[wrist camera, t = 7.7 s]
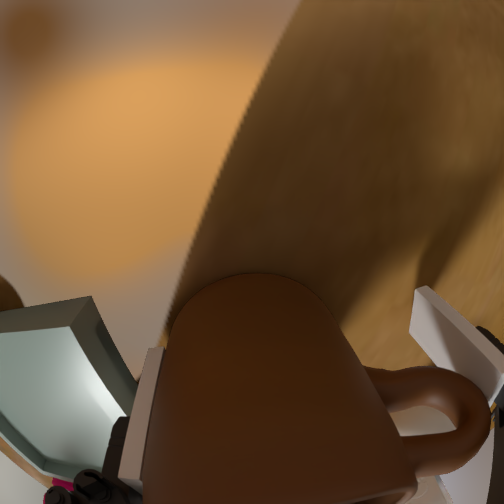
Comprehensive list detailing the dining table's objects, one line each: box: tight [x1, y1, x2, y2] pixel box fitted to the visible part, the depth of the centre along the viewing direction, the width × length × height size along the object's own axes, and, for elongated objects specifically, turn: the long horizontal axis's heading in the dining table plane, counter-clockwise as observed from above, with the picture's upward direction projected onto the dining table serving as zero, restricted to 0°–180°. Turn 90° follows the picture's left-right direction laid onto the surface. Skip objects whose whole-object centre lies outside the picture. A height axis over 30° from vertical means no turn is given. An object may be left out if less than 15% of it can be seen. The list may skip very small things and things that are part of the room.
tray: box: [0, 296, 138, 483], centre depth 13 cm, size 18×18×2 cm
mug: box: [142, 273, 491, 504], centre depth 9 cm, size 12×8×9 cm, turn 95°
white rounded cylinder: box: [389, 406, 456, 436], centre depth 15 cm, size 5×5×5 cm
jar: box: [405, 475, 453, 504], centre depth 17 cm, size 9×8×12 cm
